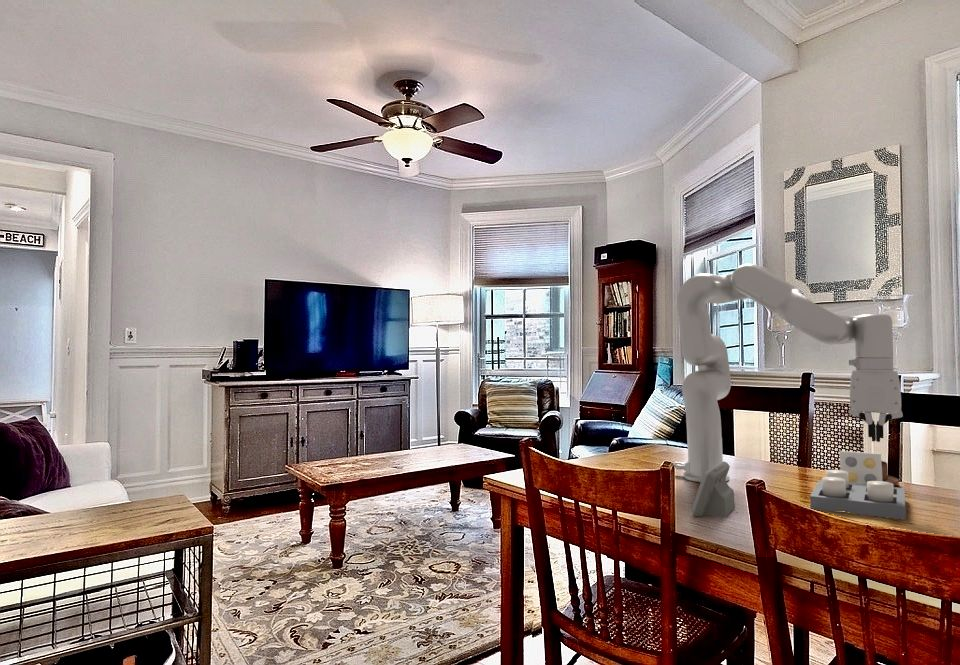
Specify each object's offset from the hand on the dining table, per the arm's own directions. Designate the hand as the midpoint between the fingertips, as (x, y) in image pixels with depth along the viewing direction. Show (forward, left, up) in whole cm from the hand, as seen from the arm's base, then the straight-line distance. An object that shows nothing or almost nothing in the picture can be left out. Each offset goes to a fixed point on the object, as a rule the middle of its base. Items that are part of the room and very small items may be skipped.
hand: (876, 440), depth 139 cm
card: (-4, +9, -15) cm, 18 cm away
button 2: (-8, 0, -12) cm, 14 cm away
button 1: (-8, -9, -12) cm, 17 cm away
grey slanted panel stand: (-32, -25, -15) cm, 44 cm away
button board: (-4, -5, -15) cm, 16 cm away
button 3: (+1, -9, -12) cm, 15 cm away
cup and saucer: (-2, +19, -15) cm, 25 cm away
